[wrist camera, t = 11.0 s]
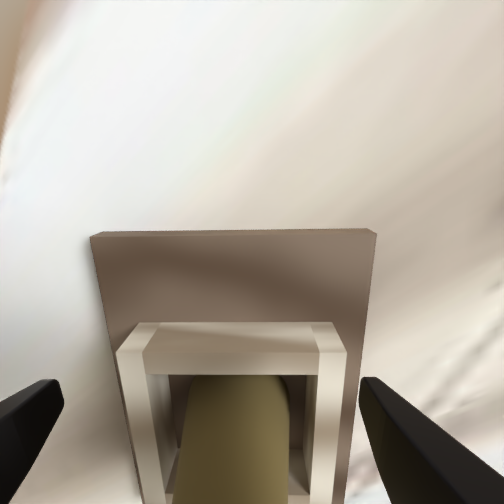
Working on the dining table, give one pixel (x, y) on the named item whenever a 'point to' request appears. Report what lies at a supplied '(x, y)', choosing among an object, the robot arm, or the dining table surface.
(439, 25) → the dining table surface
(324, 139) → the dining table surface
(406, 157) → the dining table surface
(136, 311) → the socket board
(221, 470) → the olive green rounded peg
